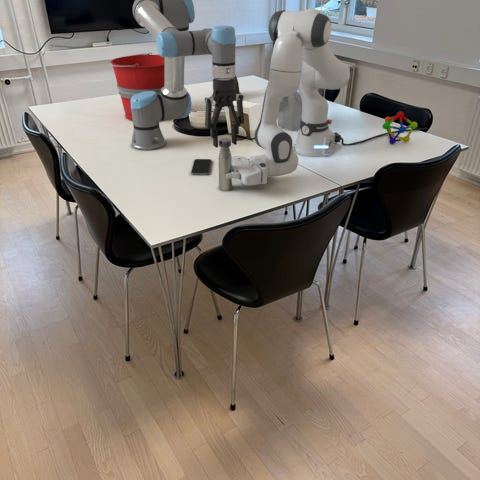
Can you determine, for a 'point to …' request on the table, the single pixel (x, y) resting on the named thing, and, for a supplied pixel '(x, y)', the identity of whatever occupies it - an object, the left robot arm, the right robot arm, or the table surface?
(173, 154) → the table surface
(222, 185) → the bottle
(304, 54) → the right robot arm
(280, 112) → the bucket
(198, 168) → the smartphone
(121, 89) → the bucket
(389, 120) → the educational toy
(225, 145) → the cap
